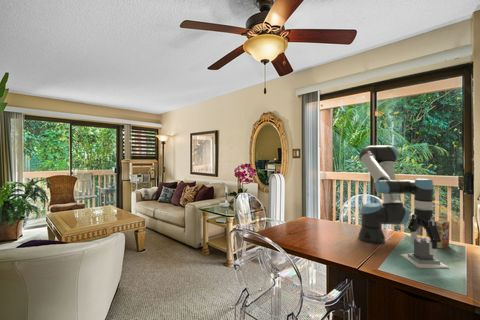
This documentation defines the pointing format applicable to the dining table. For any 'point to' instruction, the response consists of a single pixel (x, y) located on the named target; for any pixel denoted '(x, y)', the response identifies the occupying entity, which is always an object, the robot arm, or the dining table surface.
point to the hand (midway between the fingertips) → (422, 248)
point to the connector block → (422, 249)
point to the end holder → (424, 262)
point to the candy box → (443, 233)
